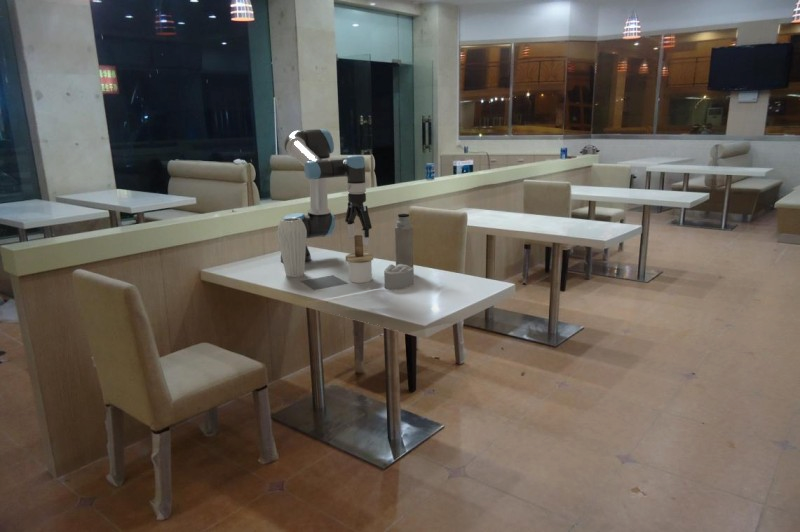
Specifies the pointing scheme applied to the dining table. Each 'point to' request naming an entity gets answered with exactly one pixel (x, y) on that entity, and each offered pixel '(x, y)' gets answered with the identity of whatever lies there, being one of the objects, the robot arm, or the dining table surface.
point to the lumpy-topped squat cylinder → (398, 277)
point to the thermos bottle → (404, 241)
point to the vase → (292, 245)
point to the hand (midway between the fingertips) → (358, 241)
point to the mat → (323, 282)
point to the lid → (359, 252)
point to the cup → (360, 272)
